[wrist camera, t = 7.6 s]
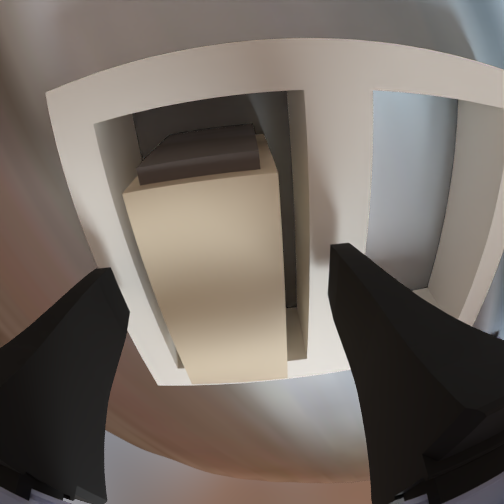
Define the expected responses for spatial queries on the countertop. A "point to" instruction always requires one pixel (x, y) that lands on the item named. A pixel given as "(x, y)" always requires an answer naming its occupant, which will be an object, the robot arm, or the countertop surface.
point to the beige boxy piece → (215, 251)
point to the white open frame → (303, 170)
